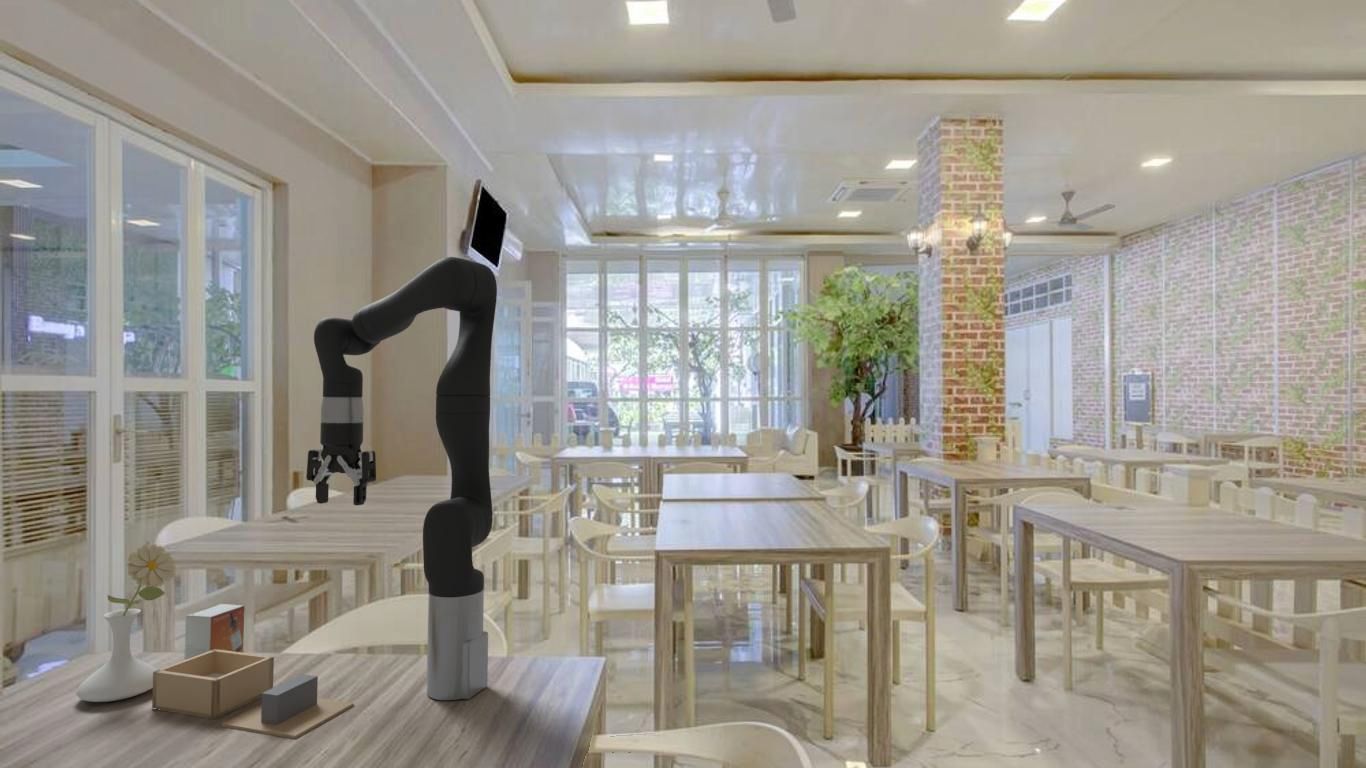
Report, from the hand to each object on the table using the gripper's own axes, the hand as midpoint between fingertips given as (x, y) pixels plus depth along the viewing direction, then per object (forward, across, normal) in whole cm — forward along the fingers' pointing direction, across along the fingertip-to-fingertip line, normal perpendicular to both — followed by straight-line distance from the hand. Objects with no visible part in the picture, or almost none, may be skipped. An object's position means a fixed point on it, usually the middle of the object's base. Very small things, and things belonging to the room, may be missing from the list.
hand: (340, 503), depth 137 cm
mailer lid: (+31, -11, +22) cm, 39 cm away
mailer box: (+30, +6, +21) cm, 37 cm away
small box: (+30, +20, +9) cm, 37 cm away
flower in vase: (+30, +23, +23) cm, 44 cm away
